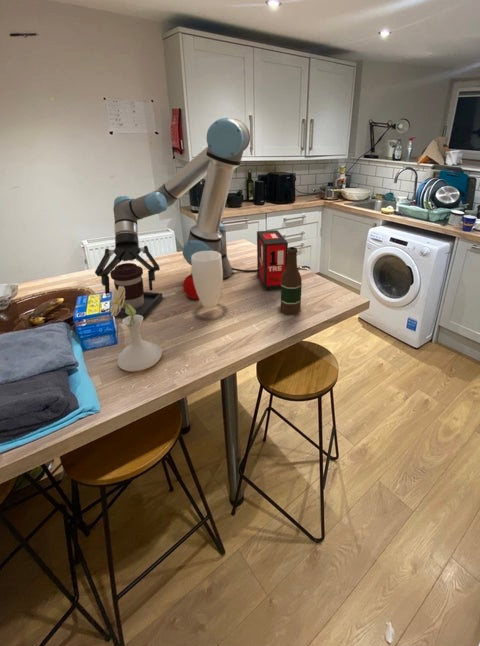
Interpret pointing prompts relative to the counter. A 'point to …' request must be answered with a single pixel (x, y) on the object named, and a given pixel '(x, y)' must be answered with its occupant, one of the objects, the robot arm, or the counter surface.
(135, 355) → the flower in vase
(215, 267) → the cup
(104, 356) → the counter surface
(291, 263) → the beer bottle
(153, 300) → the black square tray
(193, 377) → the counter surface
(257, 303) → the counter surface
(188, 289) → the fruit
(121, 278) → the coffee cup
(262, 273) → the cleaning product box
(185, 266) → the counter surface
